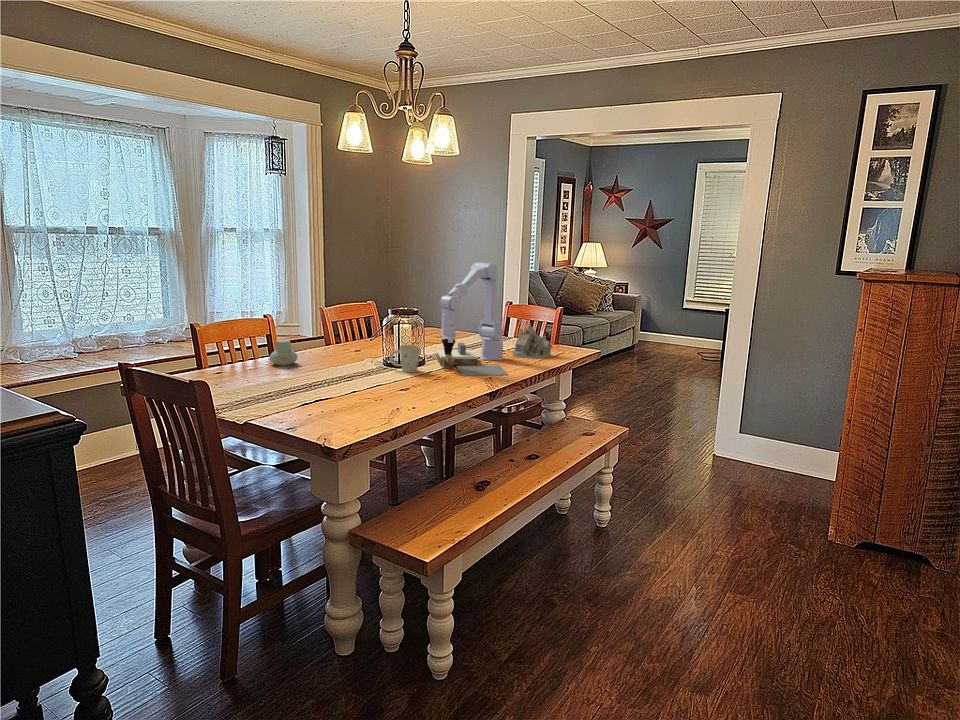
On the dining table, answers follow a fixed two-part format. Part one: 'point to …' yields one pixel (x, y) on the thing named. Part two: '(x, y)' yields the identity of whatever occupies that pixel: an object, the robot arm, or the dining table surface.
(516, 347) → the ceramic cottage
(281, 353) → the air freshener
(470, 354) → the lid
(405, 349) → the mug
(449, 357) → the key
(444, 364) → the brown wooden tray
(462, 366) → the mat
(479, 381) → the dining table surface
